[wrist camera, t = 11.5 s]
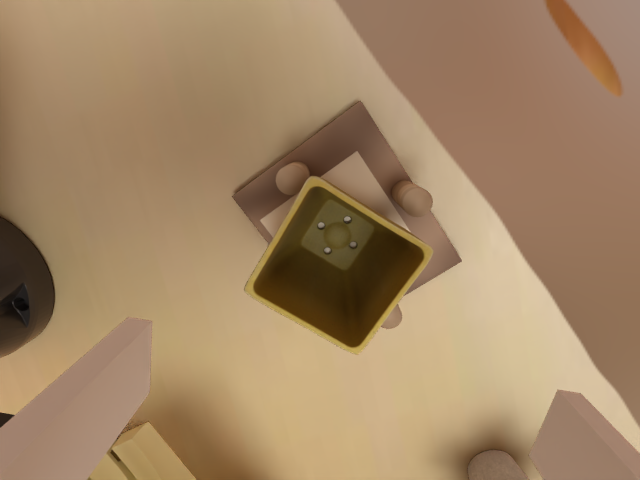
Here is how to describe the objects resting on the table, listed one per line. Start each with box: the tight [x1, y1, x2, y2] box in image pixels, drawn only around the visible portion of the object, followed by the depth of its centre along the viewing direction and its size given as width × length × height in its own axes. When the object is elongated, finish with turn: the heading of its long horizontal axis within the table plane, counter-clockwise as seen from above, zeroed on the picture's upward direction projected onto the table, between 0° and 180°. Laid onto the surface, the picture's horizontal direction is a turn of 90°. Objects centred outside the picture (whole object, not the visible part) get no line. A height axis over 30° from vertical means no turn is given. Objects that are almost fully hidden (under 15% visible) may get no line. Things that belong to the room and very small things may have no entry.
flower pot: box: [244, 176, 433, 355], centre depth 25 cm, size 9×9×9 cm
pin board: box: [232, 101, 462, 329], centre depth 28 cm, size 16×13×6 cm
